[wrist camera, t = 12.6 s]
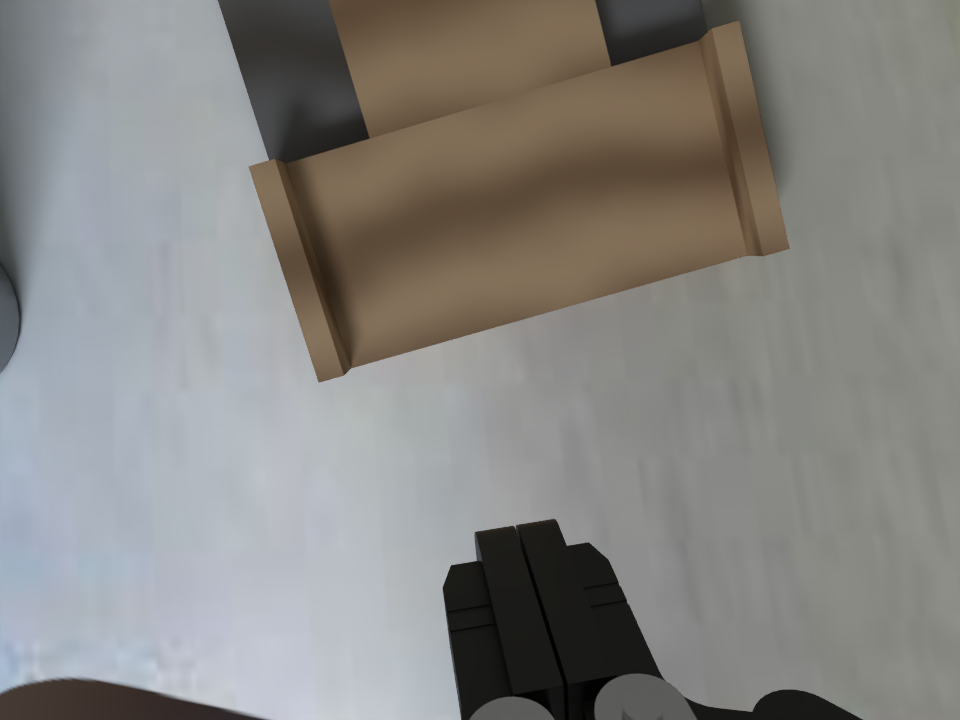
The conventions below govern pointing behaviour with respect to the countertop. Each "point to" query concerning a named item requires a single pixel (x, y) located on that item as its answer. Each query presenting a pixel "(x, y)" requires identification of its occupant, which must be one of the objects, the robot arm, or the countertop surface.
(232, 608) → the countertop surface
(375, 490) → the countertop surface
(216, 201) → the countertop surface
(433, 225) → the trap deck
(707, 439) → the countertop surface
